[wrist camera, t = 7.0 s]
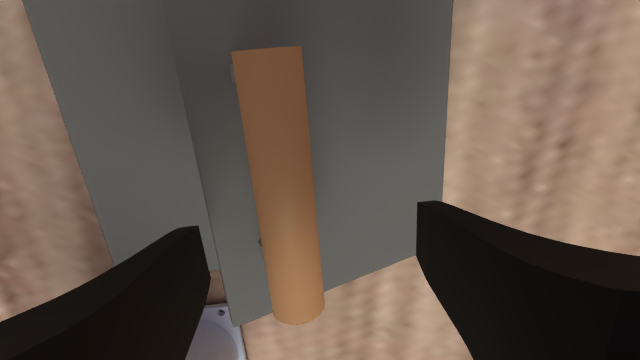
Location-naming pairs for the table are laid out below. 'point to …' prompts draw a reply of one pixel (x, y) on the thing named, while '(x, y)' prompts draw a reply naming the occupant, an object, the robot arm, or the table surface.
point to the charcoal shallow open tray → (124, 117)
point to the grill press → (311, 138)
